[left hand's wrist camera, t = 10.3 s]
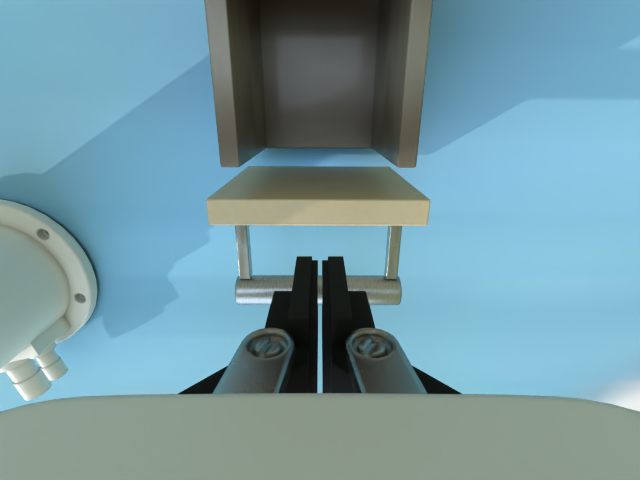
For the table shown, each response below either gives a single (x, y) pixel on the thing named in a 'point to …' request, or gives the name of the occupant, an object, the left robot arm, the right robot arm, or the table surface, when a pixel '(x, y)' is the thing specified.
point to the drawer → (318, 121)
